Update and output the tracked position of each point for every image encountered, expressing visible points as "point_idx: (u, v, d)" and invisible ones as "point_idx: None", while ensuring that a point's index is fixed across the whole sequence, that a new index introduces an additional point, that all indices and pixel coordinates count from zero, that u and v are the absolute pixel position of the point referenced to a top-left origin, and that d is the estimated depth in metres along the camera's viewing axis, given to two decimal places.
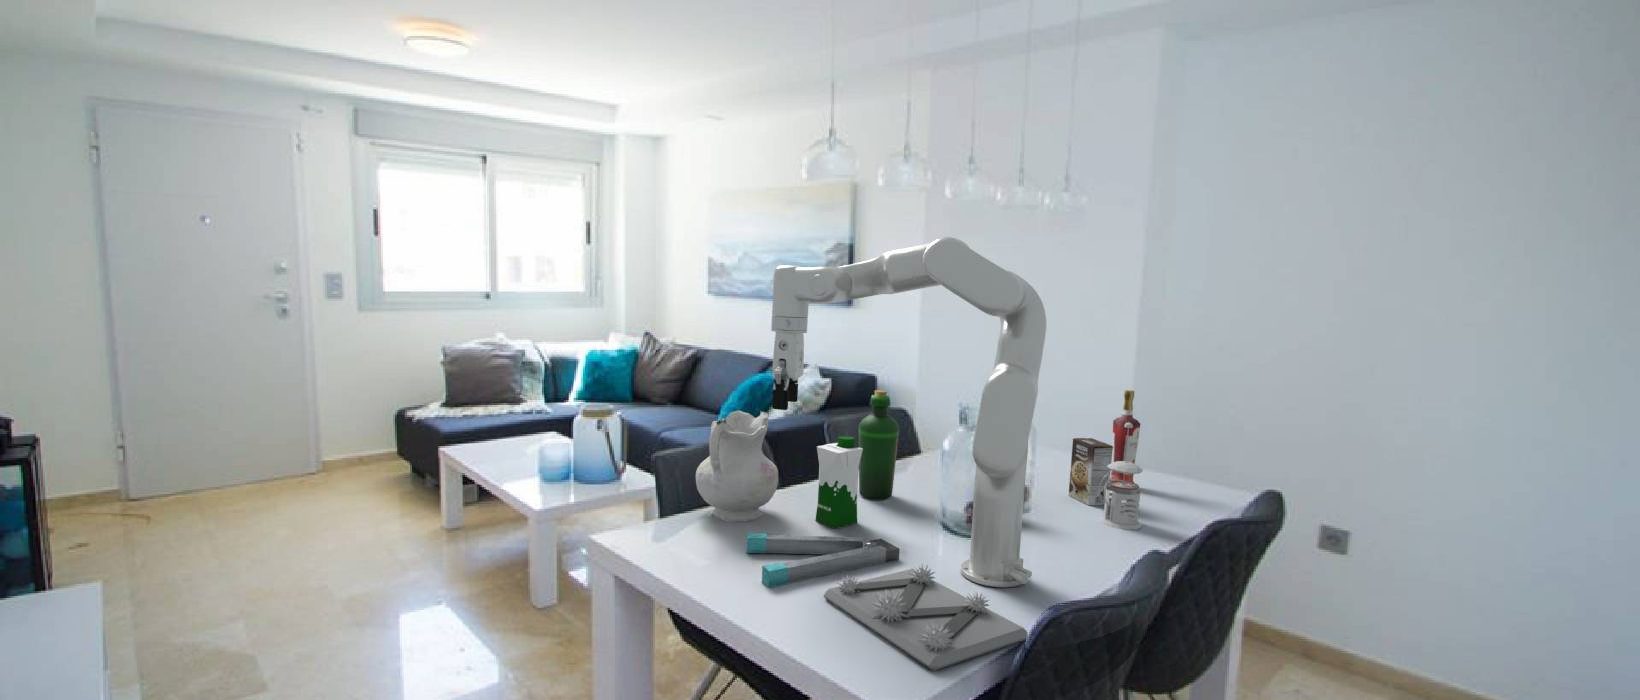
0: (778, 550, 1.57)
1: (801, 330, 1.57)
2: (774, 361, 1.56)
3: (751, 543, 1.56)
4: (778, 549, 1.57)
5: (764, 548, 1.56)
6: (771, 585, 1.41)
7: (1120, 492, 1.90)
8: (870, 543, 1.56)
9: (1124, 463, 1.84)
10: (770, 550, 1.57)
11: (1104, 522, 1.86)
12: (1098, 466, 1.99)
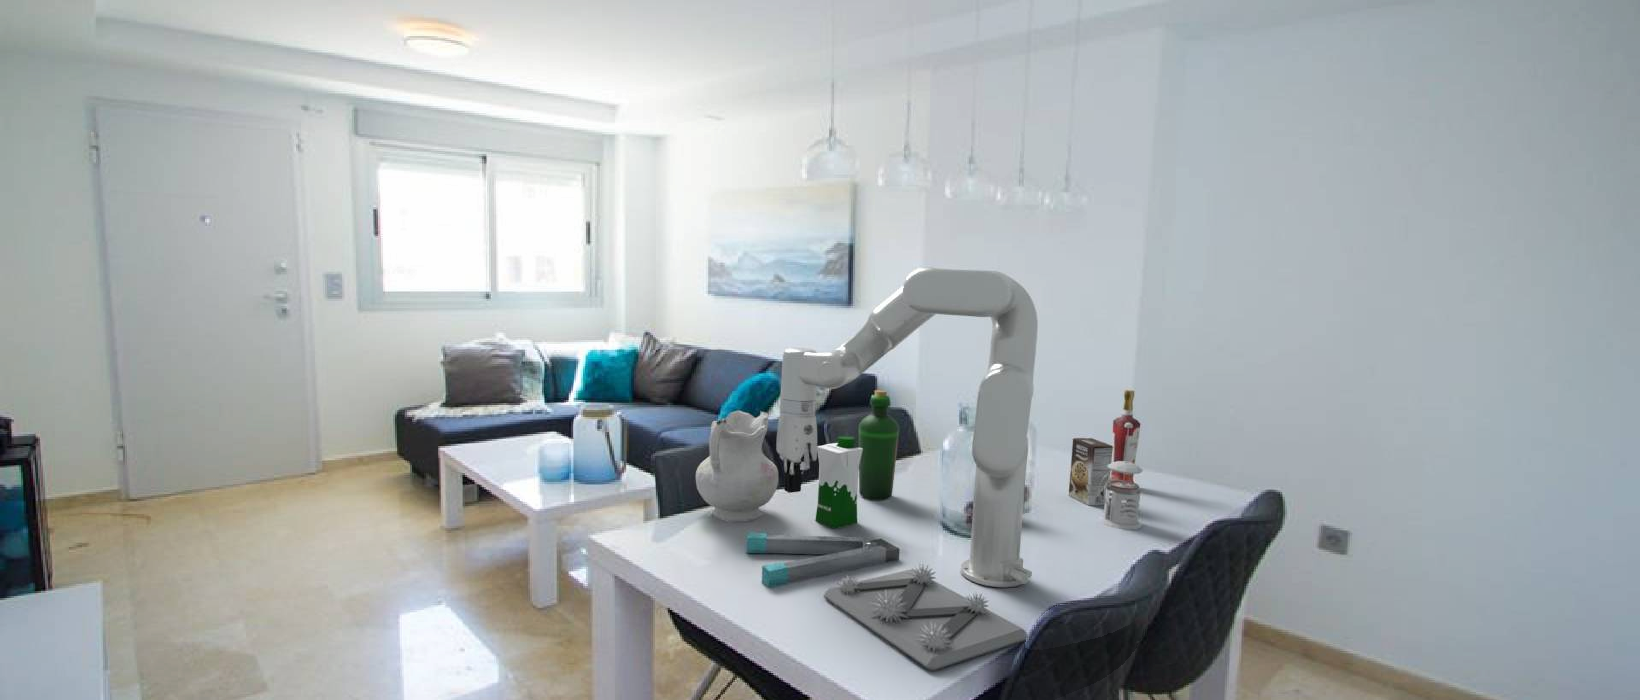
0: (778, 550, 1.57)
1: (814, 411, 1.60)
2: (800, 446, 1.56)
3: (751, 543, 1.56)
4: (778, 549, 1.57)
5: (764, 548, 1.56)
6: (771, 585, 1.41)
7: (1120, 492, 1.90)
8: (870, 543, 1.56)
9: (1124, 463, 1.84)
10: (770, 550, 1.57)
11: (1104, 522, 1.86)
12: (1098, 466, 1.99)
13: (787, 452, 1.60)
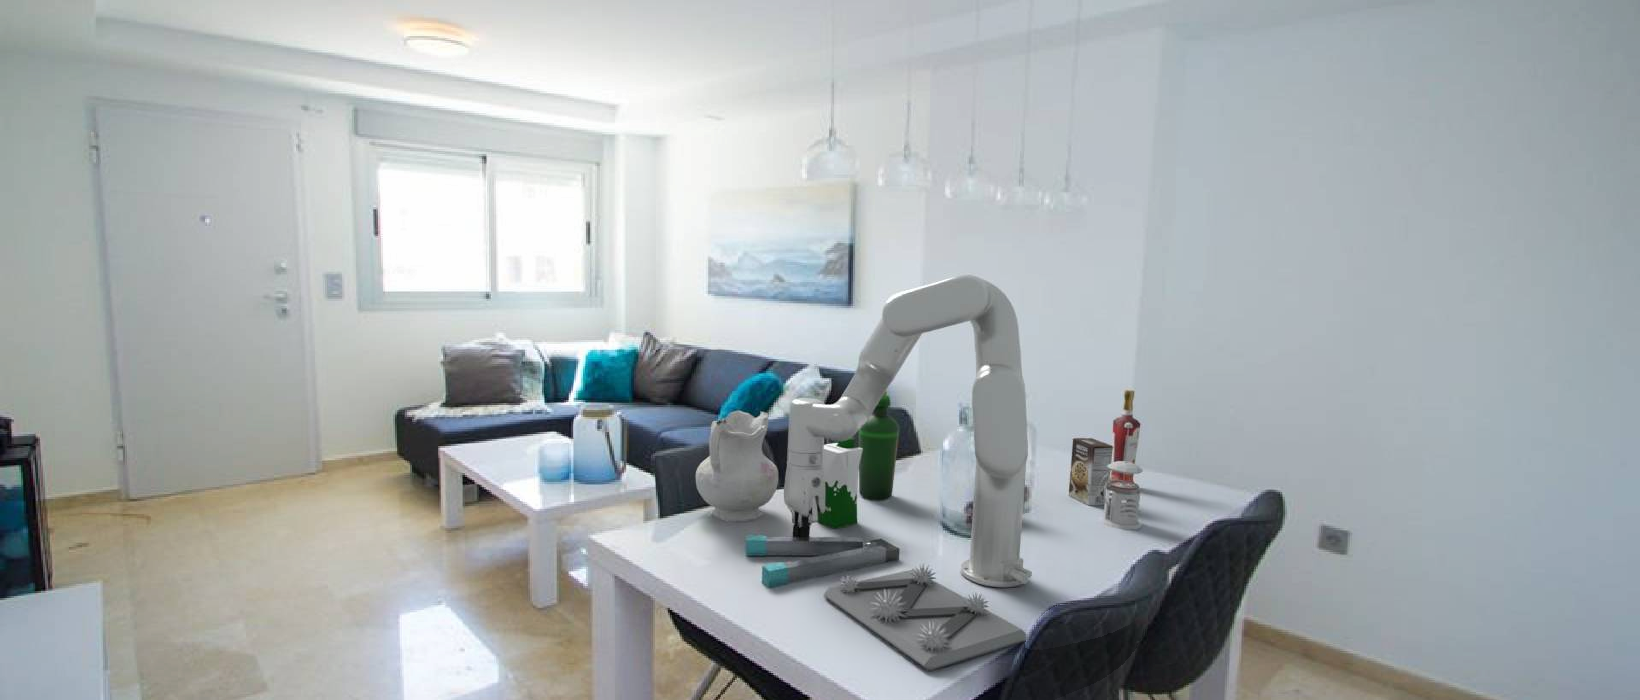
0: (778, 552, 1.56)
1: (822, 462, 1.58)
2: (808, 499, 1.54)
3: (751, 546, 1.55)
4: (777, 552, 1.56)
5: (764, 550, 1.55)
6: (771, 585, 1.41)
7: (1120, 492, 1.90)
8: (870, 543, 1.56)
9: (1124, 463, 1.84)
10: (770, 552, 1.55)
11: (1104, 522, 1.86)
12: (1098, 466, 1.99)
13: (795, 504, 1.58)
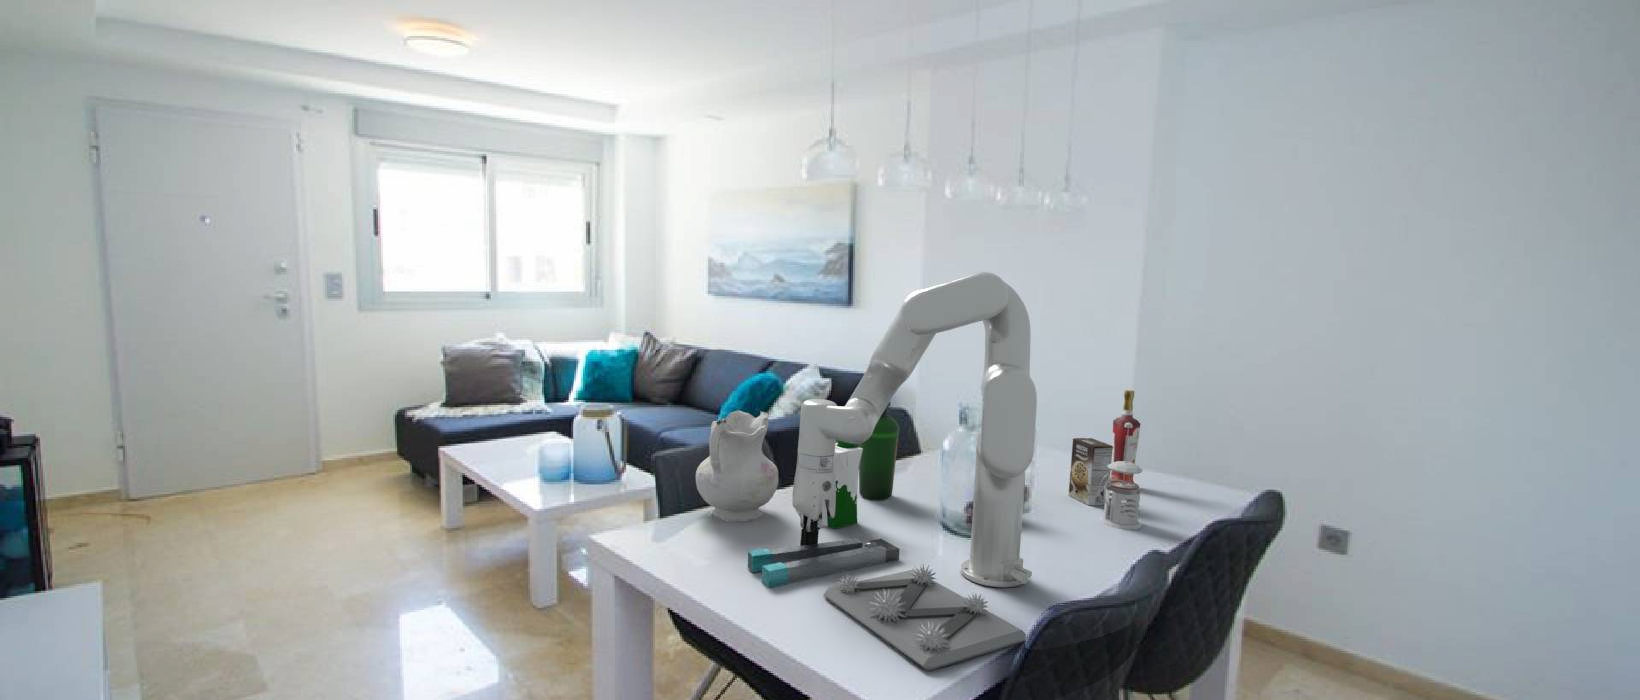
0: None
1: (833, 466, 1.54)
2: (818, 503, 1.50)
3: (757, 561, 1.47)
4: None
5: None
6: (771, 585, 1.41)
7: (1120, 492, 1.90)
8: (870, 543, 1.56)
9: (1124, 463, 1.84)
10: None
11: (1104, 522, 1.86)
12: (1098, 466, 1.99)
13: (804, 508, 1.53)
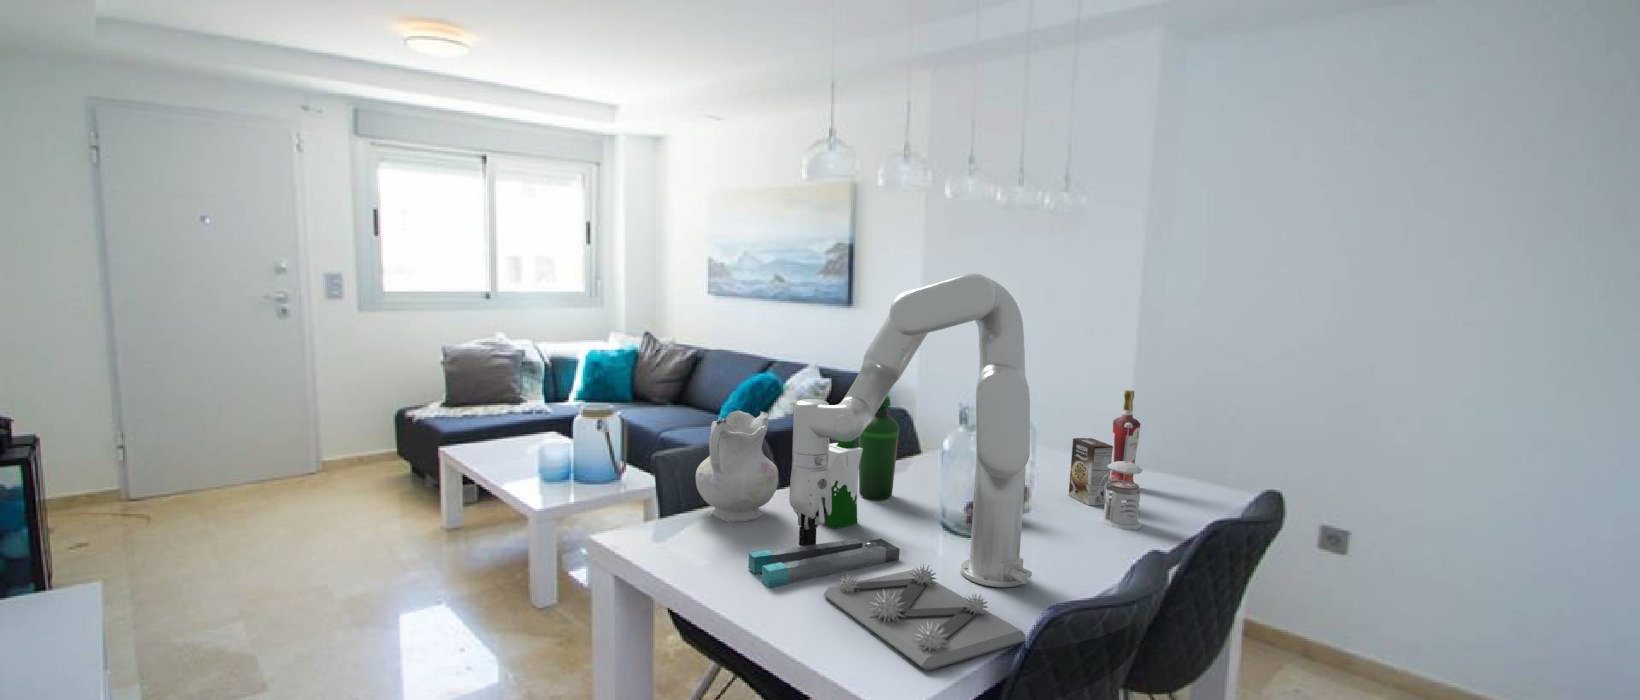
0: None
1: None
2: (814, 501, 1.53)
3: (758, 562, 1.46)
4: None
5: None
6: (771, 585, 1.41)
7: (1120, 492, 1.90)
8: (870, 543, 1.56)
9: (1124, 463, 1.84)
10: None
11: (1104, 522, 1.86)
12: (1098, 466, 1.99)
13: (801, 506, 1.56)
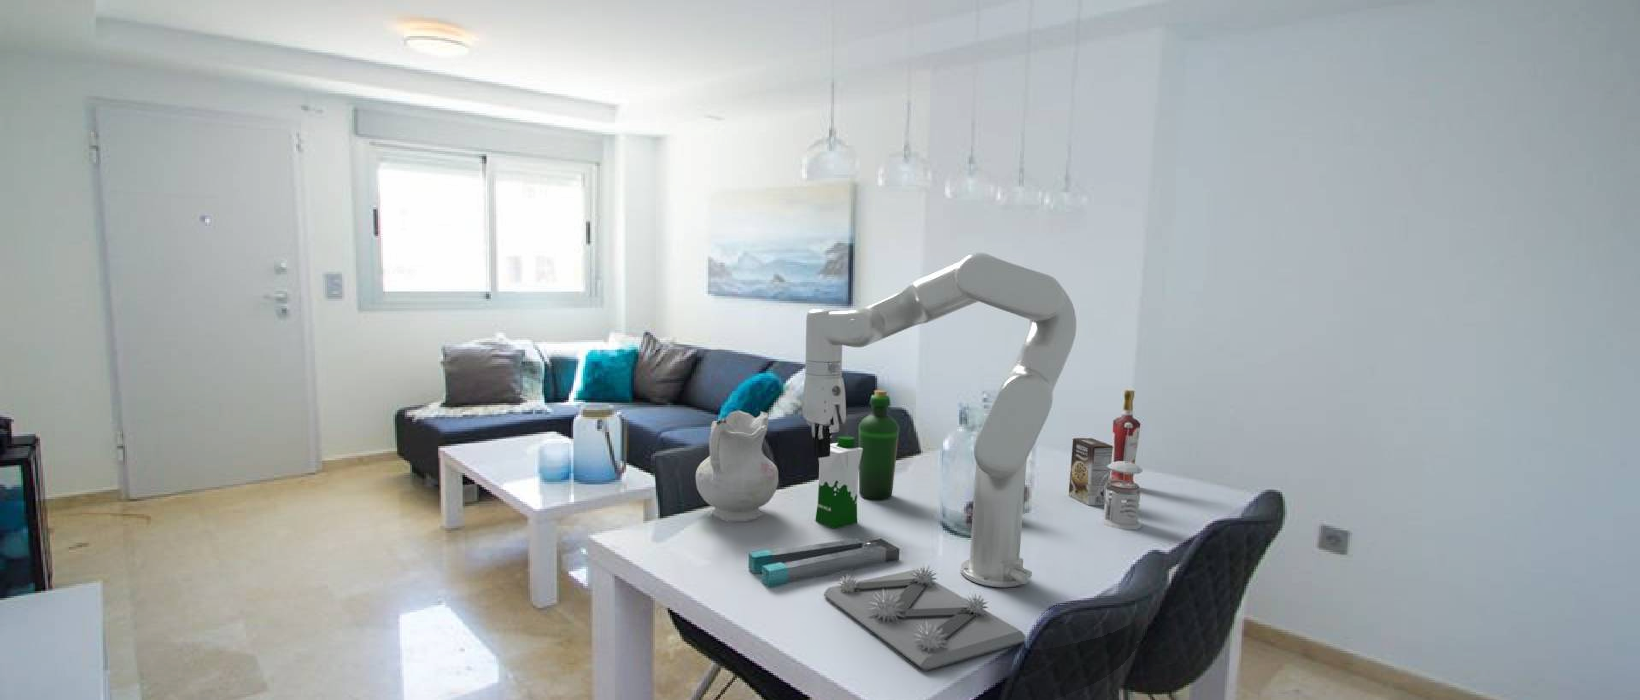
0: None
1: (841, 373, 1.57)
2: (829, 408, 1.52)
3: (758, 562, 1.46)
4: None
5: None
6: (771, 585, 1.41)
7: (1120, 492, 1.90)
8: (870, 543, 1.56)
9: (1124, 463, 1.84)
10: None
11: (1104, 522, 1.86)
12: (1098, 466, 1.99)
13: (815, 416, 1.56)
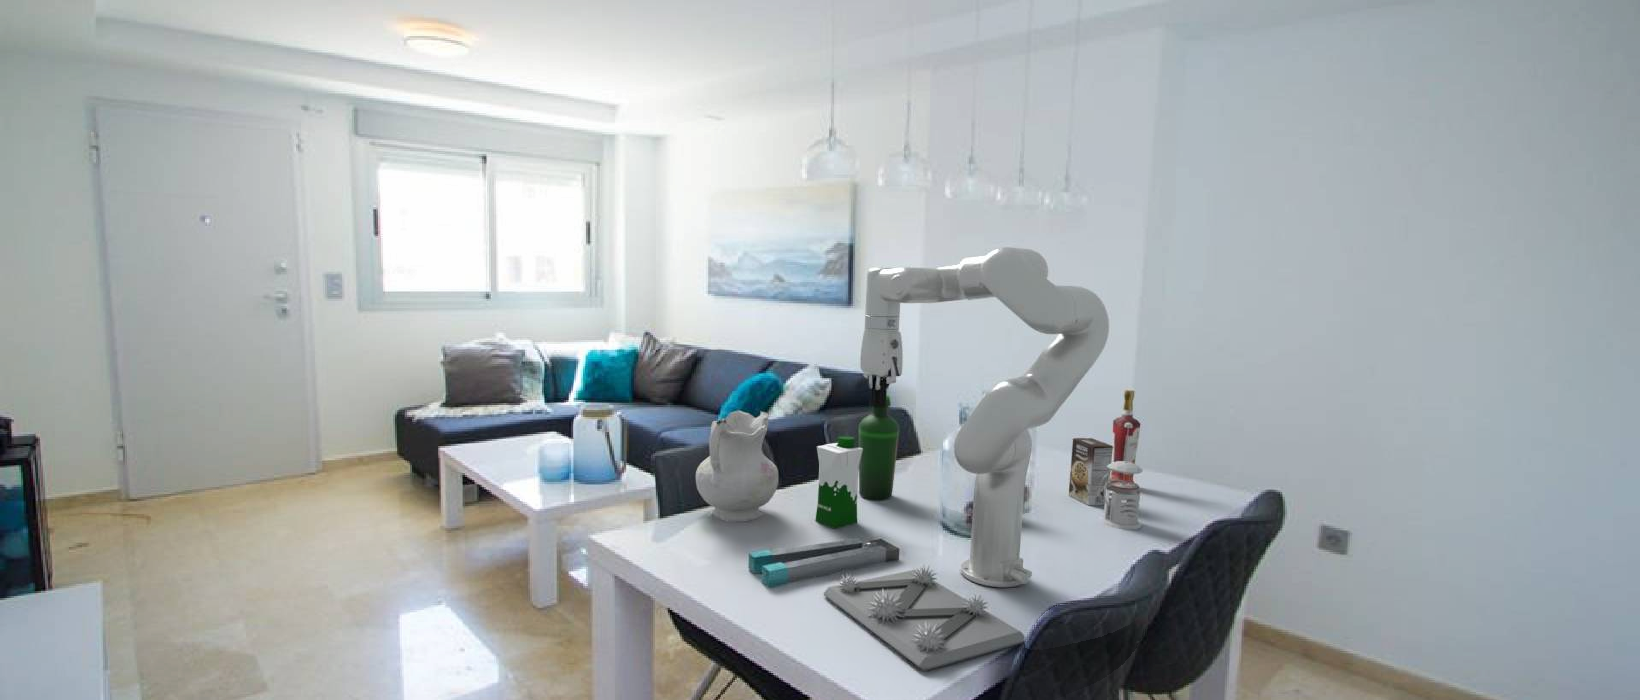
0: None
1: None
2: (887, 360, 1.62)
3: (758, 562, 1.46)
4: None
5: None
6: (771, 585, 1.41)
7: (1120, 492, 1.90)
8: (870, 543, 1.56)
9: (1124, 463, 1.84)
10: None
11: (1104, 522, 1.86)
12: (1098, 466, 1.99)
13: (873, 368, 1.66)
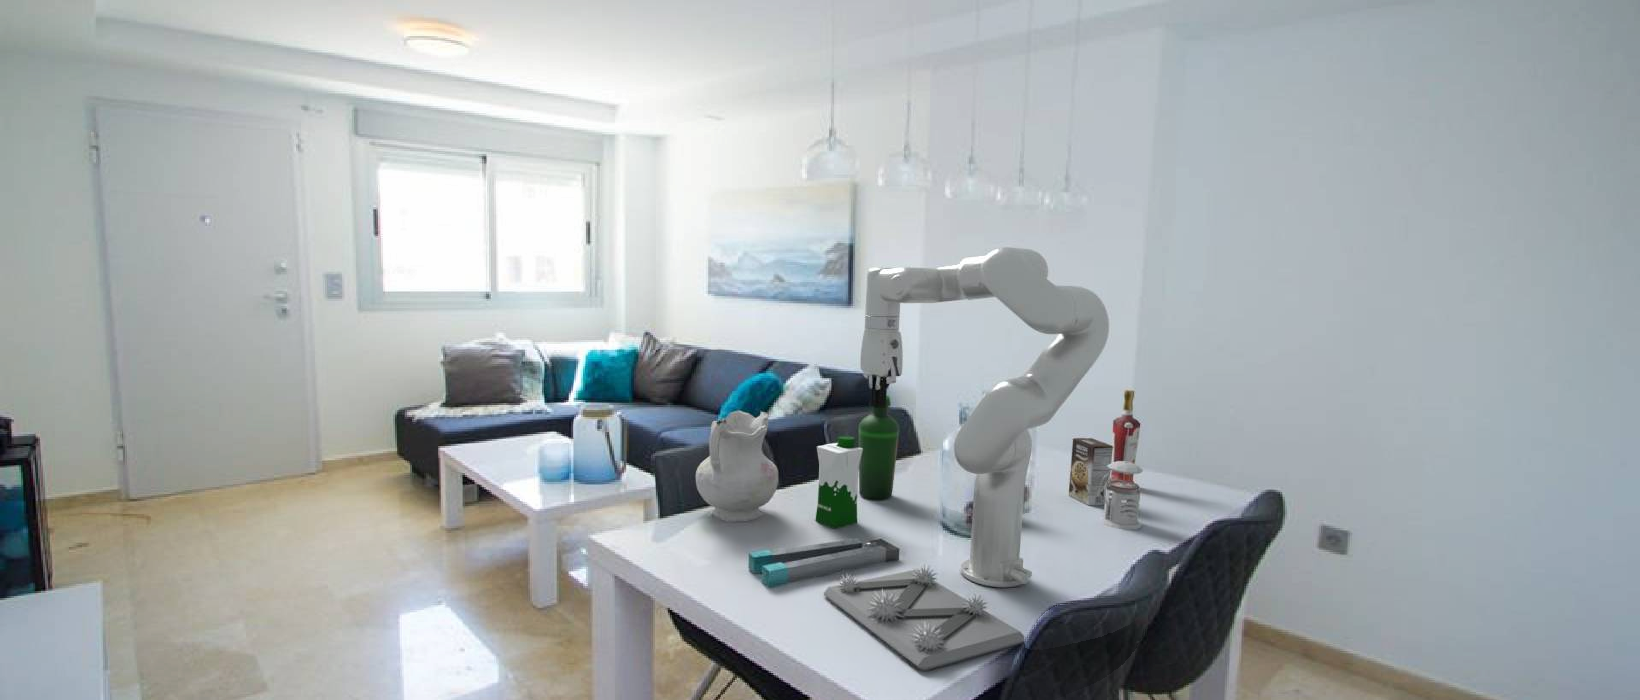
0: None
1: None
2: (887, 360, 1.62)
3: (758, 562, 1.46)
4: None
5: None
6: (771, 585, 1.41)
7: (1120, 492, 1.90)
8: (870, 543, 1.56)
9: (1124, 463, 1.84)
10: None
11: (1104, 522, 1.86)
12: (1098, 466, 1.99)
13: (873, 368, 1.66)
